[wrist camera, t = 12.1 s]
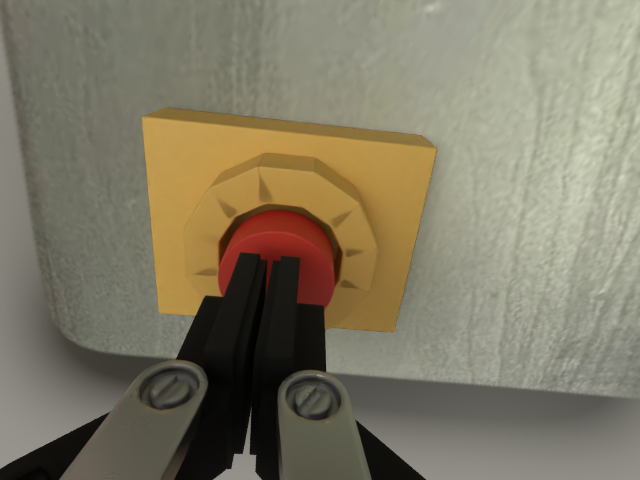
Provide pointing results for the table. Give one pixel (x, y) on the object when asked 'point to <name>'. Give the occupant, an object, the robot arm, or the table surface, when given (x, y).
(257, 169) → the button box
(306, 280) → the button
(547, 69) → the table surface
